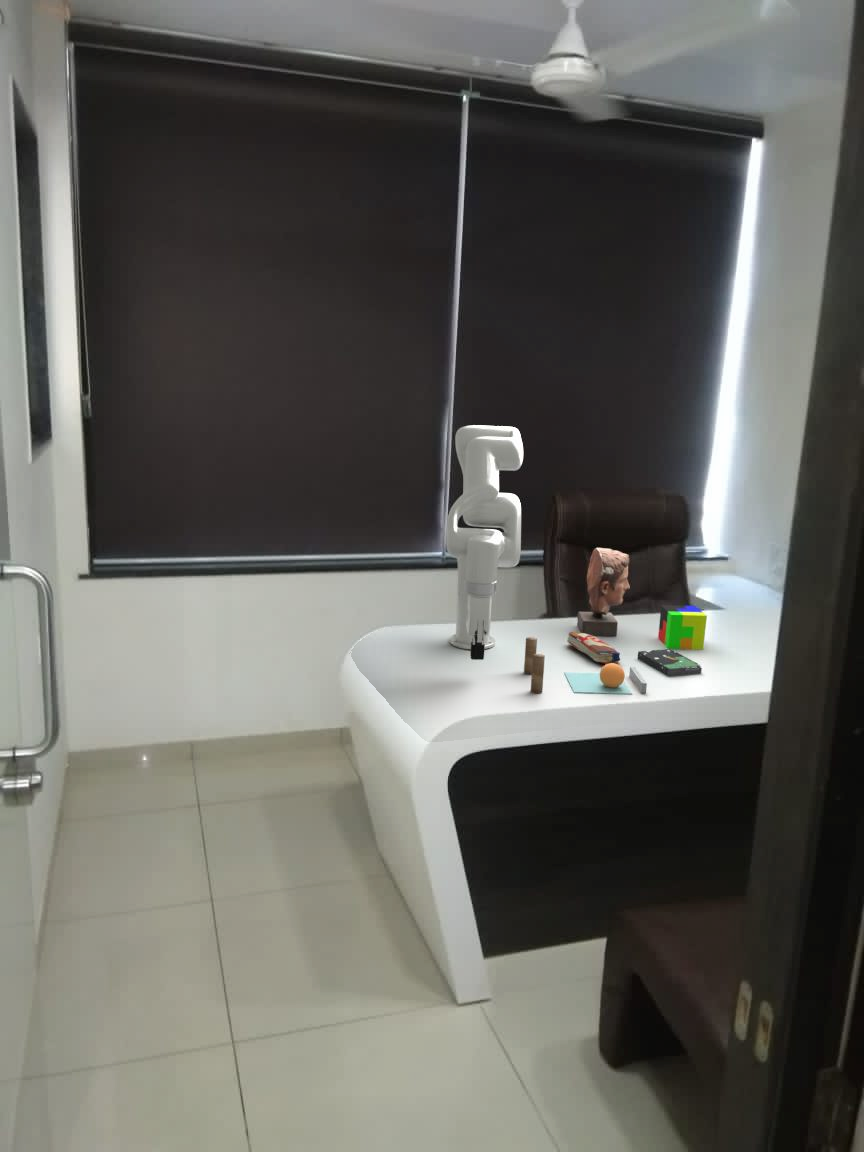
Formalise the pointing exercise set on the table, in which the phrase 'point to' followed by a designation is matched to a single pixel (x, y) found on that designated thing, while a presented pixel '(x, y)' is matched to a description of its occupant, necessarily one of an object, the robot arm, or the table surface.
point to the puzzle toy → (682, 627)
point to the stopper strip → (638, 680)
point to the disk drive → (669, 662)
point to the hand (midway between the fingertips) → (477, 658)
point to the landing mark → (593, 684)
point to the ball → (612, 675)
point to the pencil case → (593, 648)
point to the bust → (604, 591)
